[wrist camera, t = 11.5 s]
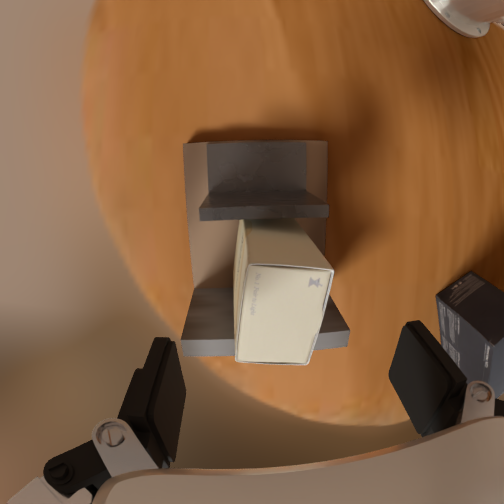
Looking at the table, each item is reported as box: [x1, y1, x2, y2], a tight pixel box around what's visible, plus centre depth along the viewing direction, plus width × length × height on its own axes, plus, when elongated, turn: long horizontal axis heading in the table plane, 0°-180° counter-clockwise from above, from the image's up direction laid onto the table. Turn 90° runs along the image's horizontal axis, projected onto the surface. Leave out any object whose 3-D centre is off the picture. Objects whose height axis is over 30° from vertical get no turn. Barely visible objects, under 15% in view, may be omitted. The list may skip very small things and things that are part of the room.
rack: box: [181, 140, 350, 356], centre depth 23 cm, size 12×16×10 cm
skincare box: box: [233, 218, 334, 365], centre depth 20 cm, size 6×4×12 cm
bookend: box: [199, 142, 329, 221], centre depth 21 cm, size 8×5×7 cm, turn 91°
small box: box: [436, 271, 504, 399], centre depth 27 cm, size 13×7×12 cm, turn 27°
